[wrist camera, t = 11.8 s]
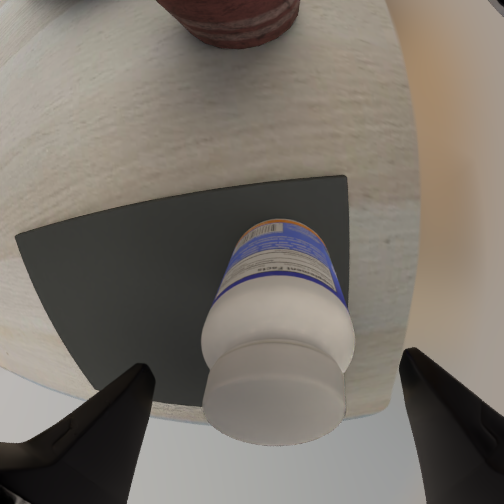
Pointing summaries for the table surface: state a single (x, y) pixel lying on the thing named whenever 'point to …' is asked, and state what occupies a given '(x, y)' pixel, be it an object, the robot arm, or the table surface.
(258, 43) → the can
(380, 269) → the table surface
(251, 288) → the pill bottle
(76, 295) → the mat
